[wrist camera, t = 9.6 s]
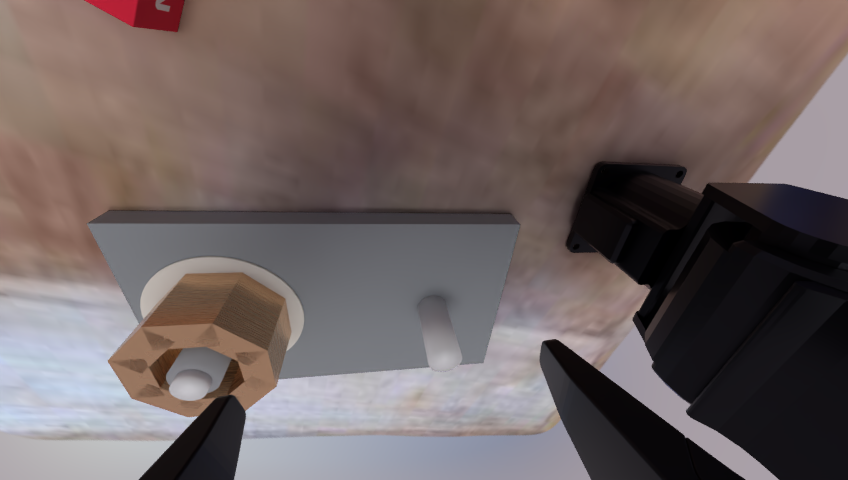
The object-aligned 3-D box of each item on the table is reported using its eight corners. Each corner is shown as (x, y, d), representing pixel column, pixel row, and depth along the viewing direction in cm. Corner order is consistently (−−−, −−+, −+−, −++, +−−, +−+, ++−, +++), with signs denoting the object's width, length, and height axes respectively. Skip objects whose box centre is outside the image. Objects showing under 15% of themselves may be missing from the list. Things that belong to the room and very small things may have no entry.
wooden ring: (207, 251, 17) (166, 301, 13) (312, 314, 20) (300, 367, 17) (137, 322, 18) (85, 383, 15) (245, 370, 22) (222, 428, 18)
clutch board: (511, 213, 20) (564, 273, 15) (477, 348, 27) (506, 425, 21) (108, 210, 17) (-25, 290, 11) (183, 369, 23) (123, 470, 17)
